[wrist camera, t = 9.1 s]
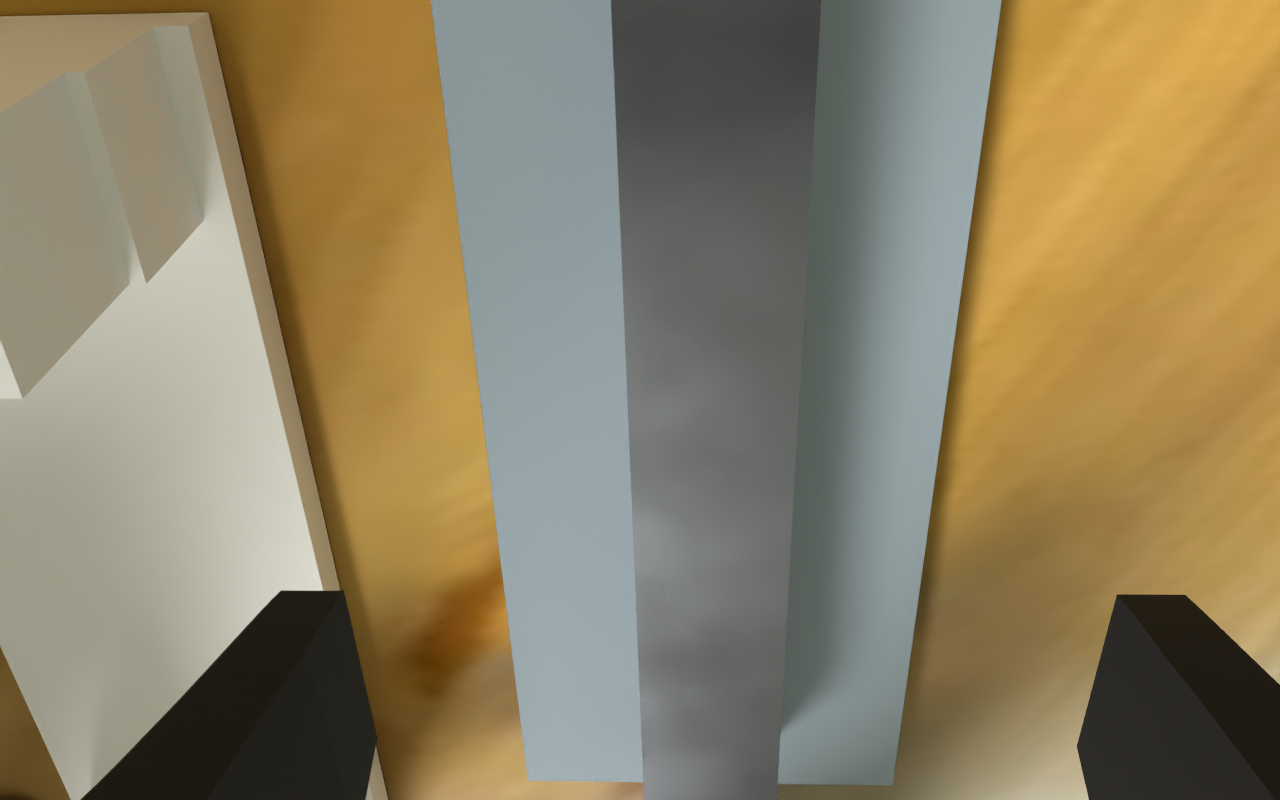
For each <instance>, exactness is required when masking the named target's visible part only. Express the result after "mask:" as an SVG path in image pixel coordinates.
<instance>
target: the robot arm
mask: <svg viewBox="0 0 1280 800" xmlns="http://www.w3.org/2000/svg"><path fill="white" fill-rule="evenodd" d="M376 742H377V736H376V732H375V727H374V723H373V718H372V714H371V710H370V705H369V701H368V696H367V692H366V687H365V683H364V679H363V674H362V670H361V665H360V661H359V656H358V652H357V648H356V643H355V639H354V634H353V630H352V625H351V621H350V617H349V612H348V608H347V603H346V599H345V595H344V591H284V590H281V591H280V592H279V593H278V594H277V595H276V596H275V597H274V598H273V599H272V600H271V601H270V602H269V603H268V604H267V605H266V606H265V607H264V608H263V609H262V610H261V611H260V612H259V613H258V614H257V615H256V617H255V618H254V619H253V620H252V621H251V622H250V623H249V624H248V625H247V626H246V627H245V628H244V630H243V631H242V632H241V633H240V634H239V635H238V636H237V637H236V638H235V639H234V640H233V642H232V643H231V644H230V645H229V646H228V647H227V648H226V649H225V650H224V651H223V652H222V654H221V655H220V656H219V657H218V658H217V659H216V660H215V661H214V662H213V663H212V664H211V666H210V667H209V668H208V669H207V670H206V671H205V672H204V673H203V674H202V675H201V676H200V677H199V678H198V680H197V681H196V682H195V683H194V684H193V685H192V686H191V687H190V688H189V689H188V690H187V691H186V692H185V694H184V695H183V696H182V697H181V698H180V699H179V700H178V701H177V702H176V703H175V704H174V705H173V706H172V707H171V708H170V709H169V710H168V712H167V713H166V714H165V715H164V716H163V717H162V718H161V719H160V720H159V721H158V722H157V723H156V724H155V725H154V726H153V727H152V728H151V729H150V730H149V731H148V732H147V733H146V734H145V735H144V736H143V737H142V738H141V739H140V741H139V742H138V743H137V744H136V745H135V746H134V747H133V748H132V749H131V750H130V751H129V752H128V753H127V754H126V755H125V756H124V757H123V758H122V759H121V760H120V761H119V762H118V763H117V764H116V765H115V766H114V767H113V768H112V769H111V770H110V771H109V772H108V773H107V774H106V775H105V776H104V777H103V778H102V779H101V780H100V781H99V782H98V783H97V784H96V785H95V786H94V787H93V788H92V789H91V790H90V791H89V792H88V793H87V794H86V795H85V796H84V797H83V798H81V799H80V800H365V799H366V795H367V789H368V784H369V779H370V773H371V768H372V763H373V758H374V752H375V747H376ZM1077 749H1078V753H1079V758H1080V762H1081V766H1082V771H1083V775H1084V779H1085V784H1086V788H1087V792H1088V797H1089V800H1280V685H1279V684H1278V683H1277V682H1276V681H1275V680H1274V679H1273V678H1272V677H1271V676H1270V675H1269V674H1268V673H1267V672H1266V671H1265V670H1264V669H1263V668H1261V667H1260V666H1259V665H1258V664H1257V663H1256V662H1255V661H1254V660H1253V659H1252V658H1251V657H1250V656H1249V655H1248V654H1247V653H1246V652H1245V651H1244V650H1243V649H1242V648H1241V647H1240V646H1239V645H1238V644H1237V643H1236V642H1235V641H1233V640H1232V639H1231V638H1230V637H1229V636H1228V635H1227V634H1226V633H1225V632H1224V631H1223V630H1222V629H1221V628H1220V627H1219V626H1218V625H1217V624H1216V623H1215V622H1214V621H1213V620H1212V619H1210V618H1209V617H1208V616H1207V615H1206V614H1205V613H1204V612H1203V611H1202V610H1201V609H1200V608H1199V607H1198V606H1197V605H1196V604H1194V603H1193V602H1192V601H1191V600H1190V599H1189V598H1188V597H1187V596H1186V595H1117V597H1116V601H1115V604H1114V608H1113V612H1112V616H1111V619H1110V623H1109V627H1108V631H1107V635H1106V638H1105V642H1104V646H1103V650H1102V653H1101V657H1100V661H1099V665H1098V669H1097V672H1096V676H1095V680H1094V684H1093V688H1092V691H1091V695H1090V699H1089V703H1088V706H1087V710H1086V714H1085V718H1084V722H1083V725H1082V729H1081V733H1080V737H1079V740H1078V744H1077Z"/></svg>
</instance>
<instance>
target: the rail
mask: <svg viewBox="0 0 1280 800" xmlns="http://www.w3.org/2000/svg"><path fill="white" fill-rule="evenodd" d="M820 15H821V0H611V17H612V41H613V65H614V89H615V113H616V137H617V161H618V185H619V209H620V233H621V257H622V282H623V306H624V330H625V354H626V378H627V402H628V426H629V450H630V474H631V498H632V522H633V546H634V570H635V594H636V618H637V642H638V666H639V690H640V714H641V738H642V762H643V787H644V800H777V788H778V770H779V752H780V734H781V716H782V698H783V680H784V662H785V644H786V626H787V608H788V590H789V572H790V554H791V536H792V518H793V500H794V483H795V465H796V447H797V429H798V411H799V393H800V375H801V357H802V339H803V321H804V303H805V285H806V267H807V249H808V231H809V213H810V195H811V177H812V159H813V141H814V123H815V105H816V87H817V69H818V51H819V33H820Z"/></svg>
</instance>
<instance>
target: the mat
mask: <svg viewBox="0 0 1280 800" xmlns="http://www.w3.org/2000/svg"><path fill="white" fill-rule="evenodd" d="M1001 1H1002V0H821V15H820V33H819V51H818V69H817V87H816V105H815V123H814V141H813V159H812V177H811V195H810V213H809V231H808V249H807V267H806V285H805V303H804V321H803V339H802V357H801V375H800V393H799V411H798V429H797V447H796V465H795V483H794V500H793V518H792V536H791V554H790V572H789V590H788V608H787V626H786V644H785V662H784V680H783V698H782V716H781V734H780V752H779V770H778V784H809V785H880V786H892V785H893V778H894V771H895V764H896V756H897V749H898V742H899V735H900V728H901V721H902V713H903V706H904V699H905V692H906V685H907V677H908V670H909V663H910V656H911V649H912V641H913V634H914V627H915V620H916V613H917V605H918V598H919V591H920V584H921V577H922V569H923V562H924V555H925V548H926V541H927V534H928V526H929V519H930V512H931V505H932V498H933V490H934V483H935V476H936V469H937V462H938V454H939V447H940V440H941V433H942V426H943V418H944V411H945V404H946V397H947V390H948V382H949V375H950V368H951V361H952V354H953V347H954V339H955V332H956V325H957V318H958V311H959V303H960V296H961V289H962V282H963V275H964V267H965V260H966V253H967V246H968V239H969V231H970V224H971V217H972V210H973V203H974V196H975V188H976V181H977V174H978V167H979V160H980V152H981V145H982V138H983V131H984V124H985V116H986V109H987V102H988V95H989V88H990V80H991V73H992V66H993V59H994V52H995V44H996V37H997V30H998V23H999V16H1000V9H1001ZM431 6H432V15H433V23H434V31H435V39H436V47H437V55H438V63H439V71H440V79H441V87H442V95H443V103H444V111H445V119H446V127H447V135H448V143H449V151H450V159H451V167H452V175H453V183H454V191H455V199H456V207H457V215H458V223H459V231H460V239H461V247H462V255H463V263H464V271H465V279H466V287H467V295H468V303H469V311H470V320H471V328H472V336H473V344H474V352H475V360H476V368H477V376H478V384H479V392H480V400H481V408H482V416H483V424H484V432H485V440H486V448H487V456H488V464H489V472H490V480H491V488H492V496H493V504H494V512H495V520H496V528H497V536H498V544H499V552H500V560H501V568H502V576H503V584H504V592H505V600H506V608H507V616H508V624H509V633H510V641H511V649H512V657H513V665H514V673H515V681H516V689H517V697H518V705H519V713H520V721H521V729H522V737H523V745H524V753H525V761H526V769H527V777H528V781H593V782H643V762H642V738H641V714H640V690H639V666H638V642H637V618H636V594H635V570H634V546H633V522H632V498H631V474H630V450H629V426H628V402H627V378H626V354H625V330H624V306H623V282H622V257H621V233H620V209H619V185H618V161H617V137H616V113H615V89H614V65H613V41H612V17H611V0H431Z"/></svg>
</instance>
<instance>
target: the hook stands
mask: <svg viewBox="0 0 1280 800" xmlns="http://www.w3.org/2000/svg"><path fill="white" fill-rule="evenodd" d="M281 590H284V591H340V587H339V582H338V578H337V574H336V569H335V565H334V560H333V556H332V552H331V547H330V543H329V539H328V534H327V530H326V525H325V521H324V517H323V512H322V508H321V504H320V499H319V495H318V490H317V486H316V482H315V477H314V473H313V469H312V464H311V460H310V455H309V451H308V447H307V442H306V438H305V434H304V429H303V425H302V421H301V416H300V412H299V407H298V403H297V399H296V394H295V390H294V386H293V381H292V377H291V372H290V368H289V364H288V359H287V355H286V351H285V346H284V342H283V337H282V333H281V329H280V324H279V320H278V316H277V311H276V307H275V302H274V298H273V294H272V289H271V285H270V281H269V276H268V272H267V267H266V263H265V259H264V254H263V250H262V246H261V241H260V237H259V232H258V228H257V224H256V219H255V215H254V211H253V206H252V202H251V197H250V193H249V189H248V184H247V180H246V176H245V171H244V167H243V162H242V158H241V154H240V149H239V145H238V141H237V136H236V132H235V127H234V123H233V119H232V114H231V110H230V106H229V101H228V97H227V92H226V88H225V84H224V79H223V75H222V71H221V66H220V62H219V57H218V53H217V49H216V44H215V40H214V36H213V31H212V27H211V22H210V18H209V14H208V12H192V13H142V14H93V15H43V16H0V647H1V649H2V651H3V654H4V656H5V658H6V660H7V662H8V664H9V667H10V669H11V671H12V673H13V675H14V677H15V680H16V682H17V684H18V686H19V688H20V690H21V693H22V695H23V697H24V699H25V701H26V703H27V706H28V708H29V710H30V712H31V714H32V716H33V719H34V721H35V723H36V725H37V727H38V729H39V732H40V734H41V736H42V738H43V740H44V743H45V745H46V747H47V749H48V751H49V753H50V756H51V758H52V760H53V762H54V764H55V766H56V769H57V771H58V773H59V775H60V777H61V779H62V782H63V784H64V786H65V788H66V790H67V792H68V795H69V797H70V799H71V800H80V799H81V798H83V797H84V796H85V795H86V794H87V793H88V792H89V791H90V790H91V789H92V788H93V787H94V786H95V785H96V784H97V783H98V782H99V781H100V780H101V779H102V778H103V777H104V776H105V775H106V774H107V773H108V772H109V771H110V770H111V769H112V768H113V767H114V766H115V765H116V764H117V763H118V762H119V761H120V760H121V759H122V758H123V757H124V756H125V755H126V754H127V753H128V752H129V751H130V750H131V749H132V748H133V747H134V746H135V745H136V744H137V743H138V742H139V741H140V739H141V738H142V737H143V736H144V735H145V734H146V733H147V732H148V731H149V730H150V729H151V728H152V727H153V726H154V725H155V724H156V723H157V722H158V721H159V720H160V719H161V718H162V717H163V716H164V715H165V714H166V713H167V712H168V710H169V709H170V708H171V707H172V706H173V705H174V704H175V703H176V702H177V701H178V700H179V699H180V698H181V697H182V696H183V695H184V694H185V692H186V691H187V690H188V689H189V688H190V687H191V686H192V685H193V684H194V683H195V682H196V681H197V680H198V678H199V677H200V676H201V675H202V674H203V673H204V672H205V671H206V670H207V669H208V668H209V667H210V666H211V664H212V663H213V662H214V661H215V660H216V659H217V658H218V657H219V656H220V655H221V654H222V652H223V651H224V650H225V649H226V648H227V647H228V646H229V645H230V644H231V643H232V642H233V640H234V639H235V638H236V637H237V636H238V635H239V634H240V633H241V632H242V631H243V630H244V628H245V627H246V626H247V625H248V624H249V623H250V622H251V621H252V620H253V619H254V618H255V617H256V615H257V614H258V613H259V612H260V611H261V610H262V609H263V608H264V607H265V606H266V605H267V604H268V603H269V602H270V601H271V600H272V599H273V598H274V597H275V596H276V595H277V594H278V593H279V592H280V591H281ZM365 800H388V797H387V792H386V788H385V784H384V779H383V775H382V770H381V766H380V762H379V757H378V753H377V749H376V747H375V752H374V758H373V763H372V768H371V773H370V779H369V784H368V789H367V795H366V799H365Z"/></svg>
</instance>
